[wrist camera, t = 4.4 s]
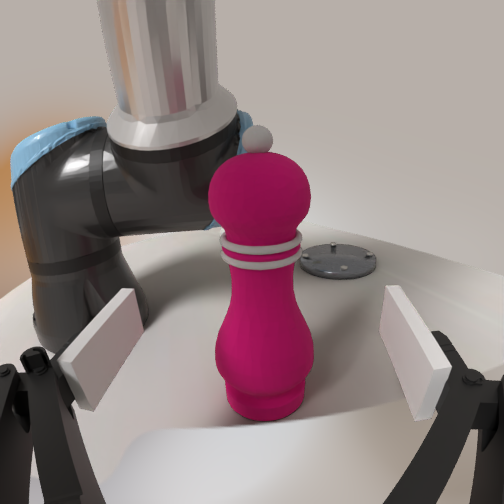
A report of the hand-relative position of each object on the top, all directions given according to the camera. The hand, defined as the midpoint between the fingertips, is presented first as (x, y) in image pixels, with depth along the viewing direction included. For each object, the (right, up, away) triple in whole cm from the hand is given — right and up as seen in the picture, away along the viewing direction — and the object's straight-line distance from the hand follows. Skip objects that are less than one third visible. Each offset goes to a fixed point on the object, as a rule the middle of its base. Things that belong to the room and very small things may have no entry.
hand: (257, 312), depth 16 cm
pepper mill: (+1, -9, +9) cm, 12 cm away
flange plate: (+13, +1, +34) cm, 36 cm away
